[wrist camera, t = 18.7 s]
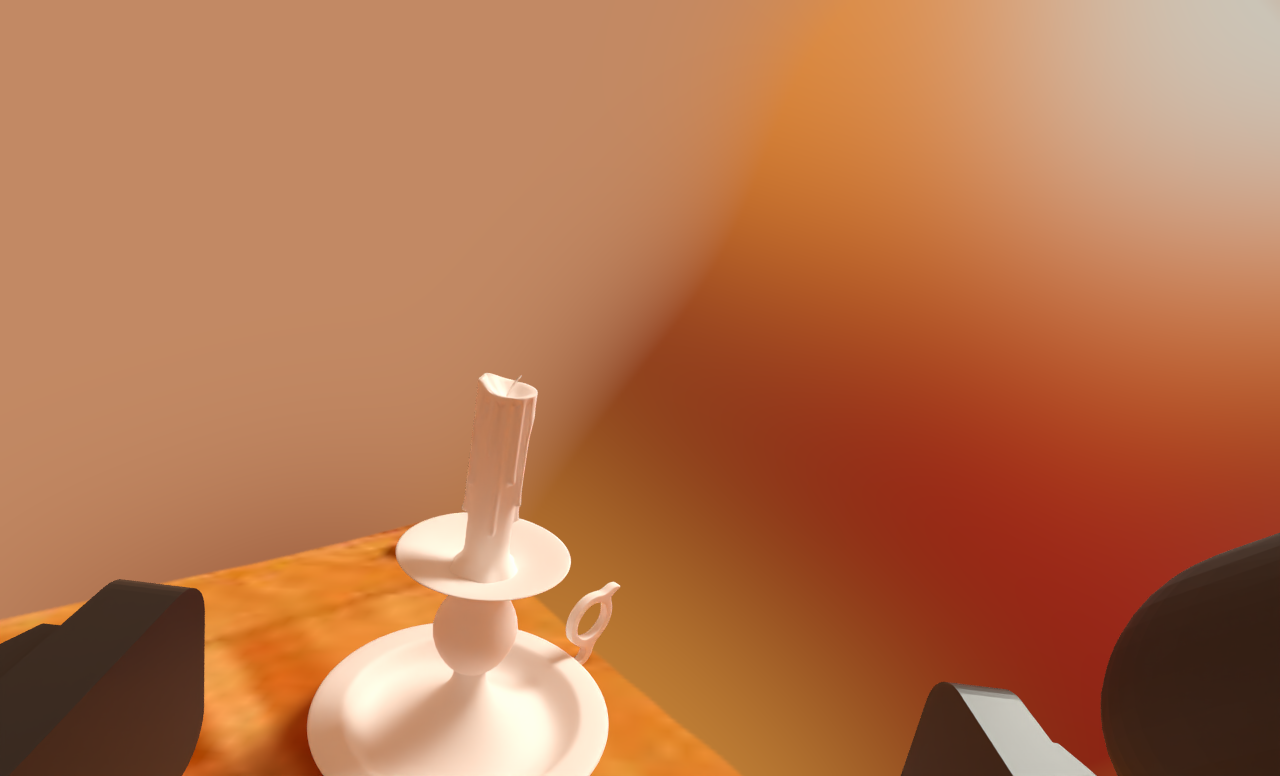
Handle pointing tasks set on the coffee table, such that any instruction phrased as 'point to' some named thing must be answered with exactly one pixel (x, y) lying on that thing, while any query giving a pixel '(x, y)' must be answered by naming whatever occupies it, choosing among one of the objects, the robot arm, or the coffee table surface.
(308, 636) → the coffee table surface
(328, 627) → the coffee table surface
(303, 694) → the coffee table surface
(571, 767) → the candlestick
